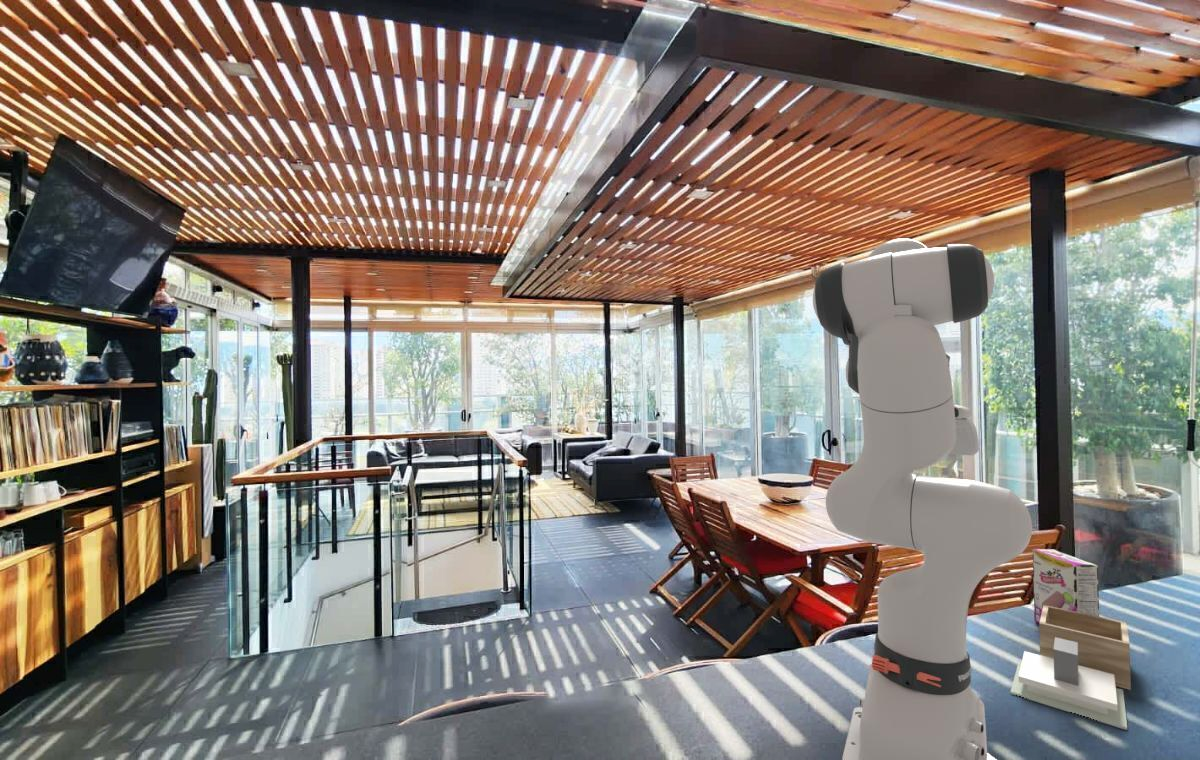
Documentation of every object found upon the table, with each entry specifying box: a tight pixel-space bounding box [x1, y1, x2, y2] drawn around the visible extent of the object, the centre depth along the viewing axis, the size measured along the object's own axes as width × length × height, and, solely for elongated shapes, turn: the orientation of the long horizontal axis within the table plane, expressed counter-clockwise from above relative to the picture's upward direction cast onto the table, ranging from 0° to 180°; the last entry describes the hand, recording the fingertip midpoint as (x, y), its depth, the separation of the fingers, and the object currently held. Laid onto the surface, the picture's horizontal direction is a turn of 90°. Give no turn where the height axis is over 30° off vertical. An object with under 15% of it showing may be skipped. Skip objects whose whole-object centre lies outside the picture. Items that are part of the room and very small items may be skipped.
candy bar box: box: [1032, 548, 1100, 624], centre depth 112 cm, size 11×5×16 cm, turn 179°
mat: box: [1010, 660, 1128, 731], centre depth 89 cm, size 14×14×1 cm
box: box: [1038, 605, 1132, 691], centre depth 99 cm, size 12×12×8 cm
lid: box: [1019, 637, 1118, 715], centre depth 89 cm, size 12×12×8 cm
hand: (920, 473), depth 112 cm, fingers open, 8 cm apart
